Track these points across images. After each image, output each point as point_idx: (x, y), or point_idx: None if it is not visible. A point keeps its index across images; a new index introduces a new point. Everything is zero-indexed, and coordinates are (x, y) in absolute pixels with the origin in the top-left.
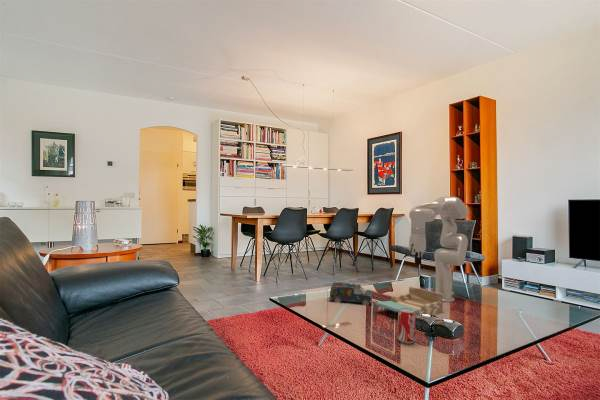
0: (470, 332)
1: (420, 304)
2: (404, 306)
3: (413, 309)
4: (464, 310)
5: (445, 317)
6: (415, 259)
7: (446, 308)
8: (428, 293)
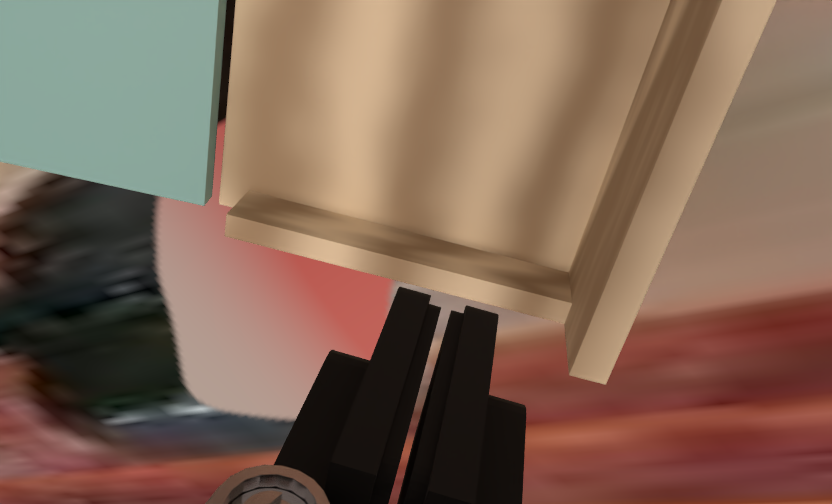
0: None
1: (513, 100)
2: (155, 44)
3: (139, 160)
4: (793, 404)
5: (444, 322)
6: (293, 431)
7: (763, 273)
8: (626, 210)
